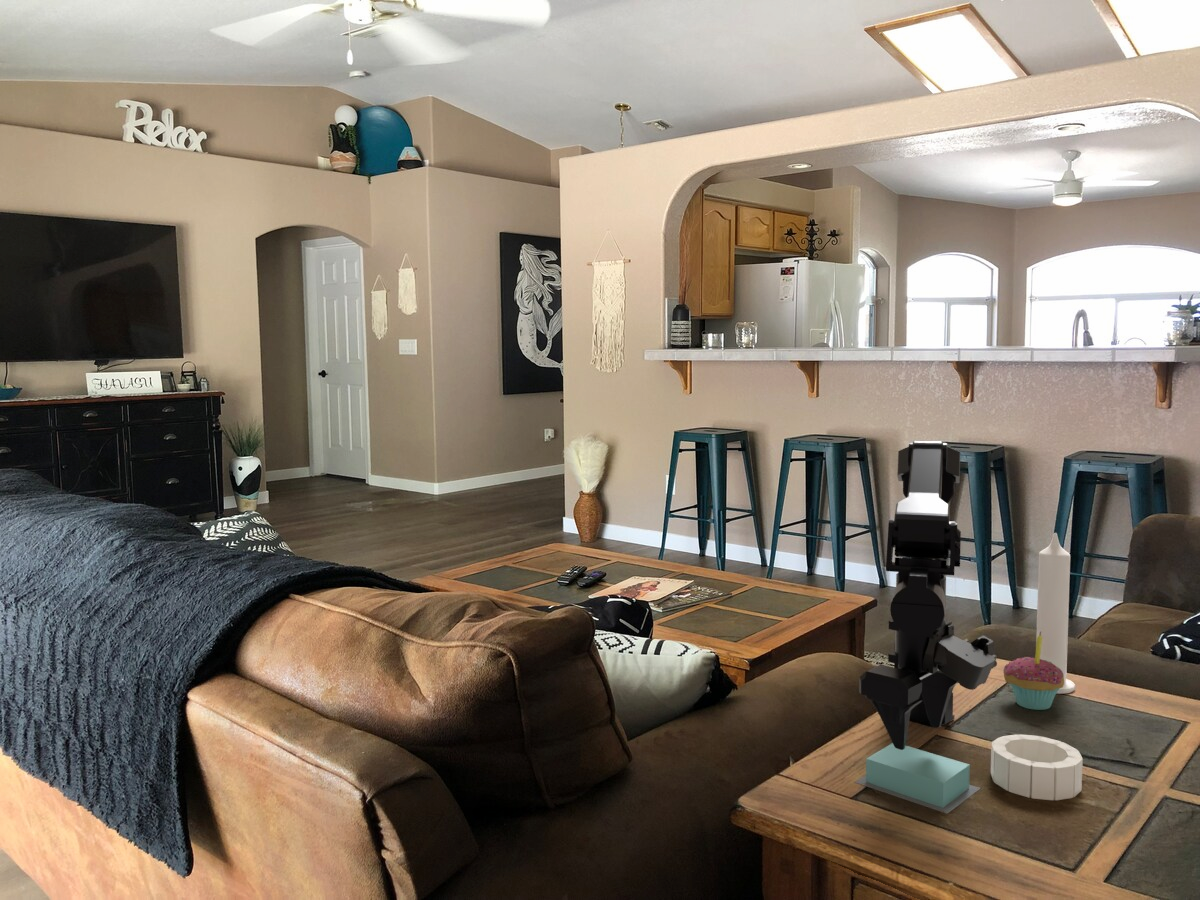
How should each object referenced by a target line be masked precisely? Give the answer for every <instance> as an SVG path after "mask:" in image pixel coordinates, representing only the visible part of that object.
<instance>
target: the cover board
mask: <svg viewBox="0 0 1200 900" xmlns="http://www.w3.org/2000/svg"><path fill="white" fill-rule="evenodd" d="M970 765H971V764H969V763H965V762H962V761H960V760H959V761H958V760H957V759H956V760H955V759H952V758H948V757H945V756H943V755H938V754H935V753H931V752H928V751H925V750H922V749H918V748H916V747H911V746H909V745H905V749H903V750H900V749H897V748H895V747H894V744H893V742H892V743H890V744H889V745H886V746H885V747H883V748H882V749H880V750H879V751H877V752H875V753H873V754H872V755H870V756H868V757H867V758H866V759H865V775H866V782H868V783H871V784H874V785H877V786H880V787H883V788H886V789H889V790H892V791H895V792H898V793H901V794H904V795H907V796H910V797H913V798H916V799H919V800H921V801H924V802H927V803H930V804H933V805H936V806H939V807H942V808H943V807H945V806H946V805H947V804H949V803H950V802H951V801H953V800H954V799H955V798H957V797H958V796H959V795H961V794H962V793H964V792H965V791H966V790H968V789H969V785H970V775H971V774H970V772H971V771H970V770H971V767H970Z"/></svg>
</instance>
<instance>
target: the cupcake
mask: <svg viewBox="0 0 1200 900" xmlns="http://www.w3.org/2000/svg"><path fill="white" fill-rule="evenodd" d="M1036 636H1037V635H1036ZM1041 643H1042V636H1041V631H1040V634H1039V636H1037V644H1036V643H1035V655H1034V657H1032V656H1022V657H1019V658H1015V659H1013V660H1012V661H1009V662H1008V663H1007V664H1005V666H1004V667H1003V678H1004V681H1005V682H1006V683H1008V684H1010V686H1011V688H1012V692H1013V695H1014V698H1015V702H1016V704H1017V705H1018V706H1020V707H1023V708H1025V709H1028V710H1029V709H1030V710H1035V711H1037V710H1038V711H1043V710H1049V709H1051V707H1052V705H1053V702H1054V699H1055V697H1056V693H1057V692H1058V690H1059V689H1060V688H1062V687H1063V685H1064V675H1063V672H1062V670H1060V668H1058V667H1057V666H1055V665H1054V664H1052V663H1051V662H1048V661H1046V660H1041V659H1040V652H1041Z"/></svg>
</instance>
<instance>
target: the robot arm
mask: <svg viewBox="0 0 1200 900" xmlns="http://www.w3.org/2000/svg"><path fill="white" fill-rule="evenodd" d="M896 474H897V480H898V482H902V494H903V495H904V497H905V498H904V499H901V500H900V501H899V502H897V503H896V505H895V510H894V511H895V512H894V518H889V519H888V526H887V527H888V529H887V543H886V559H885V560H886V561H885V572H894V573H895V572H896V575H895V576H896V577H895V578H896V582H895V590H894V592H893V595H892V598H891V601H890V609H889V611H890V617H891V619H890V620H888V630H890V631H891V630H892V631H894V634H895V637H894V639H895V640H894V650H893V651H891V652H889V653H888V654H887V661H888V663H892V664H894V665H893V666H894V667H893V666H889V665H886V664H879V665H876V666H874V667H872V668H869V669H868V670H866V671H864V672H863V673H862V674H861V675H859V678H858V679H859V680H858V684H859V685H858V689H859V690H858V692H859V694H860V695H862V696H865V699H867V700H870V702H871V703H872V705H873V707H874V708H875V710H876V712H877V714H878V715H879V717H880V719H881V721H882V723H883V726H884V727H885V730H886V731H887V734H888V737H889V739H890V740H891V742H892V743H893V744H894V747H895V748H897V749H900V750H903V749H905V746H907V745H906V743H907V739H908V730H909V724H910V722H911V723H914V724H919V725H921V726H926V727H929V728H933V729H934V728H935V729H940V728H941V727H943V726H945V725H946V724H948V723H950V722H952V721H954V720H955V715H954V714H953V713H954V712H953V710H954V707H953V706H954V693H953V691H954V688H955V687H956V685H957V684H959V686H961V687H962V688H964V689H967V690H972V691H974V690H976V689H977V688H978V687H980V686H981V685H982V684H983V685H985V684H986V682H987V681H988V678H989V676H990V673H991V671H992V669H993V668H995V667H997V665H998V662H997V657H998V656H997V655H996V651H995V649H996V648H995V641H994V640H993V639H991V638H989V637H987V636H986V635H981V636H979V637H977V638H975V639H974V640H972V641H971V642H970V639H968V638H965V639H961V638H960V637H957V636H956V635H955V626H954V624H952V623H953V622H952V621H950V620H946V602H947V601H946V600H947V599H946V597H947V596H946V595H947V577H946V576H955V567H956V568H957V567H958V568H961V544H962V543H961V539H962V538H961V537H962V536H961V535H962V533H961V530H960V529H959V528H958V523H956V521H954V520H953V521H950V514H951V512H950V510H951V509H950V508H951V506H950V504H949V503H950V501H951V500H952V498H953V497H954V495H955V484H960V482H961V477H960V476H961V475H960V474H961V452H960V451H958V450H956V449H953V448H951V447H949V446H948V443H946V442H943V441H941V440H939V441H938V440H937V441H936V440H935V441H934V440H931V441H930V440H914V441H912V442H908V446H907V447H905V448H902V449H899V450H898V453H897V473H896ZM893 556H895V557H894V561H893ZM948 559H949V564H947V560H948Z"/></svg>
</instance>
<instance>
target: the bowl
mask: <svg viewBox="0 0 1200 900" xmlns="http://www.w3.org/2000/svg"><path fill="white" fill-rule="evenodd" d="M990 748H991V749H990V750H991V751H990V776H991V778H992V781H993V783H994V784H996V785H997V786H999V787H1001V788H1002V789H1004V790H1005V791H1008V793H1009V792H1010V793H1012V794H1016V795H1018V796H1022V797H1025V798H1029V799H1030V798H1031V799H1034V800H1035V799H1037V800H1046V801H1060V800H1067V799H1072V798H1076V796H1077V795H1078V794H1080V793H1081V792H1082V788H1083V785H1082V784H1083V764H1084V763H1083V759H1084V758H1083V757H1082V755H1081V753H1080V751H1079V750H1078V749H1077V748H1074V747H1073V746H1071V745H1069V743H1066V742H1063V741H1061V740H1056V739H1053V738H1049V737H1046V736H1040V735H1031V734H1016V733H1015V734H1010V735H1009V734H1008V735H1003V736H999V737H997V738H996V739H995V740H992V741H991V746H990Z"/></svg>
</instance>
